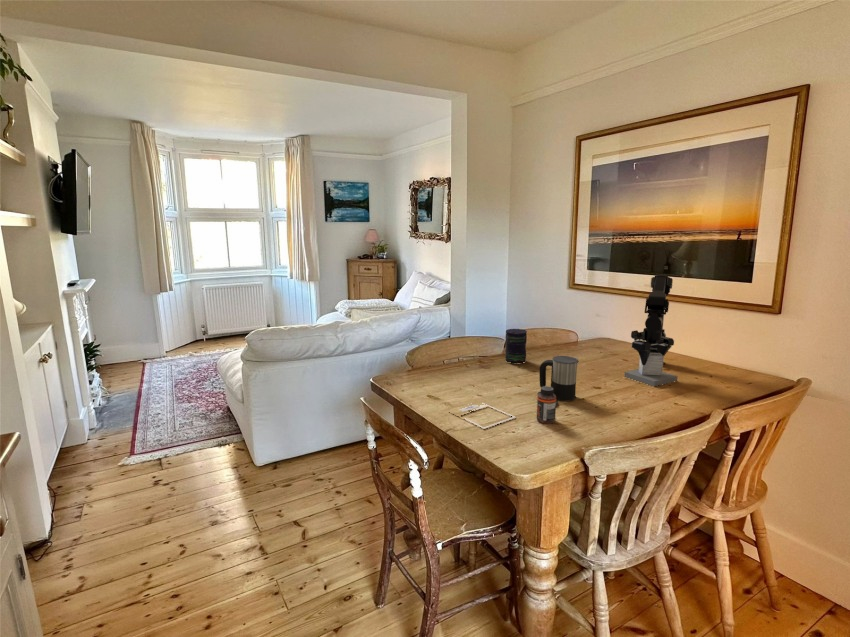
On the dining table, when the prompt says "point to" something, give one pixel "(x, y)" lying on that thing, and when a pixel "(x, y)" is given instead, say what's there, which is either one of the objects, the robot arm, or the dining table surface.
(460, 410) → the photo frame
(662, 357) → the medicine box
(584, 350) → the dining table surface
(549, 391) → the supplement bottle
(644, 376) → the riser block
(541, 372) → the milk frother
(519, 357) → the storage jar
